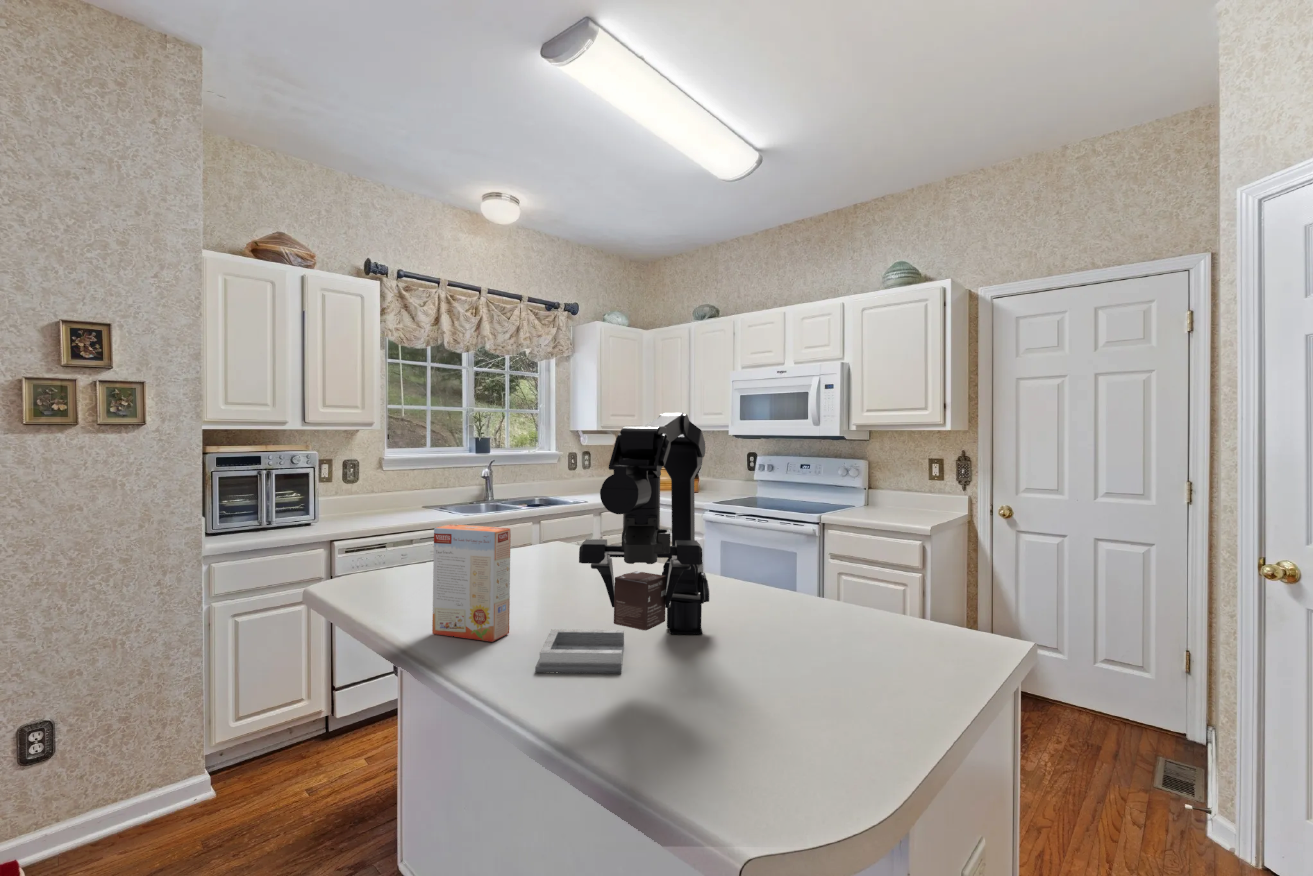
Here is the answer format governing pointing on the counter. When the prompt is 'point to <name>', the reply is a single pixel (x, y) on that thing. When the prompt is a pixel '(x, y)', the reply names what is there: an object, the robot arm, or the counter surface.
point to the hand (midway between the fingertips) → (640, 607)
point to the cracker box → (471, 582)
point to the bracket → (582, 652)
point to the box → (639, 600)
